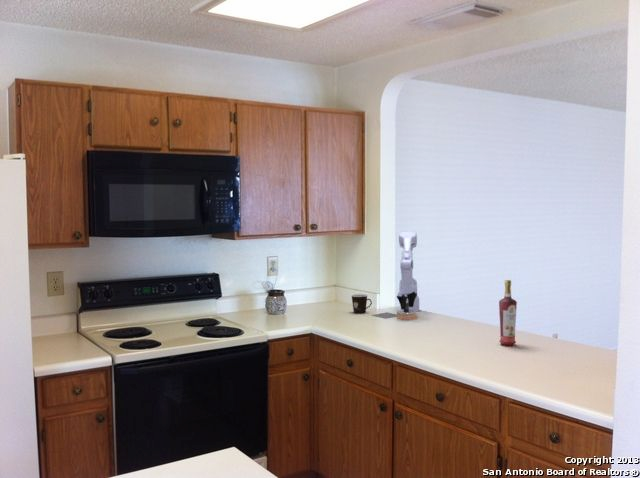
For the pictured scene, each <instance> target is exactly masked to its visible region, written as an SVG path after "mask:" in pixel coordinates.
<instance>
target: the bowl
mask: <svg viewBox="0 0 640 478" xmlns="http://www.w3.org/2000/svg"><path fill="white" fill-rule="evenodd" d="M396 314H397V313H396ZM396 318H397V319H398V320H401V321H413V320H417V319H418V313H417V312H416V314H414V315H399V314H397V317H396Z"/></svg>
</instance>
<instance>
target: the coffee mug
mask: <svg viewBox="0 0 640 478" xmlns="http://www.w3.org/2000/svg"><path fill="white" fill-rule="evenodd" d="M351 301H352V310H353V314H356V315H363V314H367V313H366V312H367V309H368V308H370V307H371V306H372V304H373V302H372V299H370V298H368V295H367V294H362V293H359V294H358V293H357V294H351ZM368 301H370V304H369V305H368V306H367V302H368Z"/></svg>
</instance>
